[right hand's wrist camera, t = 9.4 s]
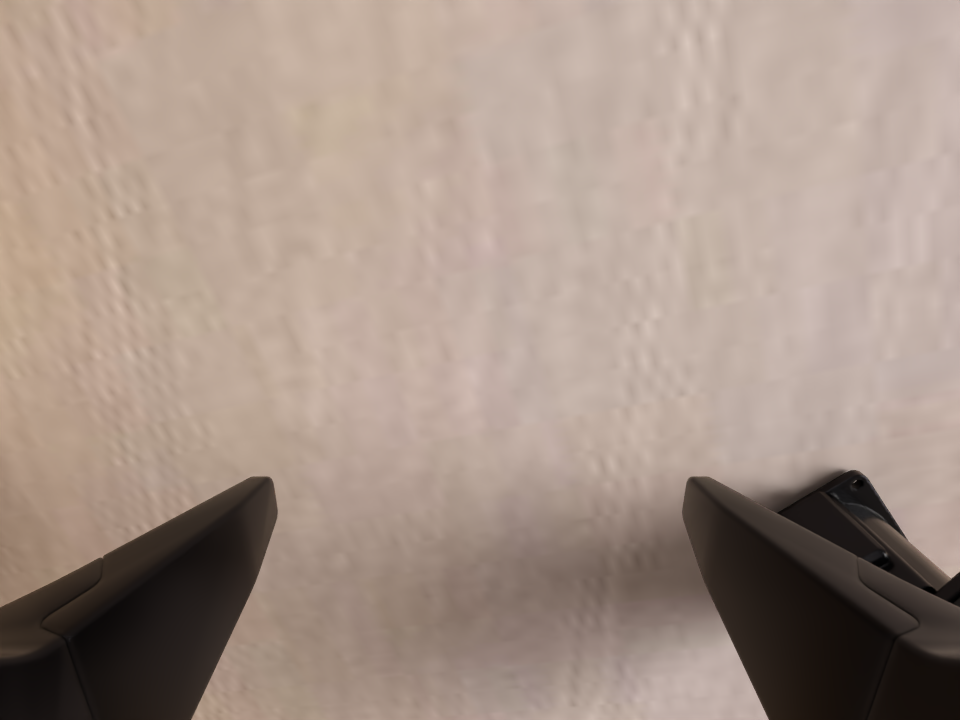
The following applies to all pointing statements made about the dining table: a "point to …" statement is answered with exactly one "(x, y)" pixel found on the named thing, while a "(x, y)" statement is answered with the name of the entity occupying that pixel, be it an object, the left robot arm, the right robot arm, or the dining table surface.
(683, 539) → the dining table surface
